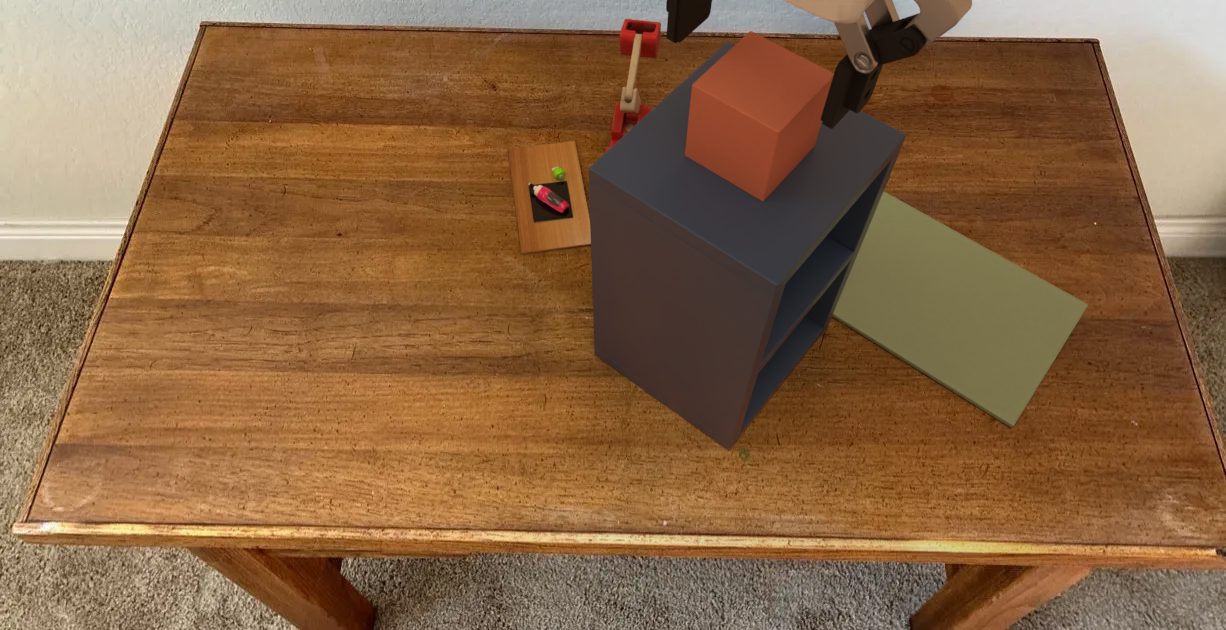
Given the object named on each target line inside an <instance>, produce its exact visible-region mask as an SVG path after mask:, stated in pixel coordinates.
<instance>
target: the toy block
mask: <svg viewBox="0 0 1226 630" xmlns="http://www.w3.org/2000/svg"><path fill="white" fill-rule="evenodd" d="M833 75H834V72H831V71H830V70H828V69H826V68H824V67H822V66H820V65H818V64H816V63H814V62H812V61H810V60H809V59H807V58H804V57H803V56H801V55H799V54H797V53H794V52H793V51H791V50H789V49H788V48H785V47H784V46H781V45H779V44H777V43H775V42H773V41H772V40H769V39H768V38H766V37H764V36H762V35H760V34H758V33H756V32H754V31H752V30H749V32H748V33H746V34H745V35H744V36H743V37H742V38H741V39H740V40H739V41H738V42H737V43H735V46H734V47H732V48H731V49H730V50H729V51H728V52H727V53H726V54H725V55H724V56H723V57H722V58H721V59H719V60H718V61H717V62H716V63H715V64H714V65H713V66H712V67H711V68H710V69H709V70H708V71H706V72H705V73H704V74H703V75H702V76H701V77H700V78H699V79H698V80H697V81H696V82H695V83H694V84H693V85H692V92H691V101H690V111H689V120H688V130H687V139H686V148H685V156H686V157H688V158H690V159H691V160H693V161H695V162H696V163H698V164H700V165H702V166H703V167H705V168H707V169H708V170H710V171H712V172H713V173H715V174H717V175H719V176H720V177H722V178H724V179H725V180H727V181H729V182H730V183H732V184H734V185H736V186H737V187H739V188H741V189H742V190H744V191H746V192H747V193H749V194H751V195H752V196H754V197H756V198H758V199H759V200H761V201H764V200H765V199H766V198H767V197H768V196H769V195H770V194H771V193H772V191H773V190H774V189H775V188H776V187H777V186H778V185H779V184H780V183H781V182H782V181H783V180H784V178H785V177H786V176H787V175H788V174H789V173H790V172H791V171H792V170H793V169H794V168H795V167H796V166H797V164H798V163H799V162H800V161H801V160H802V159H803V158H804V157H805V156H806V155H807V154H808V153H809V151H810V150H811V149H812V148H813V147H814V146H815V144H816V140H817V137H818V133H819V130H820V126H821V123H822V120H821V116H822V112H823V109H824V106H825V102H826V99H827V96H828V92H829V89H830V86H831V82H832V79H833Z"/></svg>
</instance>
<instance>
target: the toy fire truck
mask: <svg viewBox="0 0 1226 630" xmlns="http://www.w3.org/2000/svg"><path fill="white" fill-rule="evenodd" d="M661 33H662V23H661V22H660V21H652V20H640V19H632V18H625V19H624V20H623V23H622V26H621V29H620V31H619V50H620V52H619V53H620V55H621V56H626V57H627V56H629V57H630V63H629V69H628V76H627V80H626V86H623V87H622V89H621V97H620V101H618V100H617V101H616V103H615V107H614V112H613V118H612V122H611V123H612V124H611V128H610V129H611V130H610V142H609V146H607V147H605V151H604V154H605V153H606V152H607V151H608V150H609V149H610V148H611V147H612V146H613V145H615V144H616V143H617V142H618V141H619V140H620V139H621V138H622V137H623V136H624V135H626V134H627V133H628V132H629V131H630V130H631V129H632V128H633V127H634V126H635V125H636V124H638V123H639V122H640V121H641V120H642V119H643V118H644V117H645V116H646V115H647V114H648V113H650V112H651V106H650V105H646V104H642V101H641V97H640V93H639V89H638V88H637V87H636V84H637V77H638V71H639V64H640V58H647V59H648V58H650V59H657V57H658V52H659V48H660V42H661V38H662V35H661Z"/></svg>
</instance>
